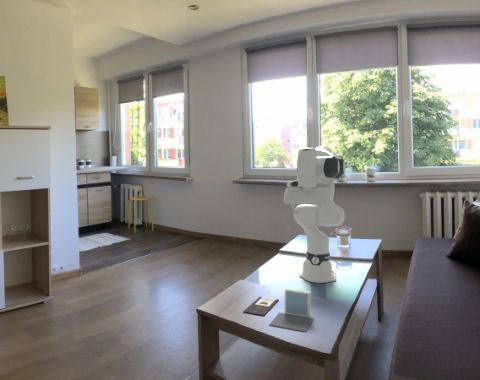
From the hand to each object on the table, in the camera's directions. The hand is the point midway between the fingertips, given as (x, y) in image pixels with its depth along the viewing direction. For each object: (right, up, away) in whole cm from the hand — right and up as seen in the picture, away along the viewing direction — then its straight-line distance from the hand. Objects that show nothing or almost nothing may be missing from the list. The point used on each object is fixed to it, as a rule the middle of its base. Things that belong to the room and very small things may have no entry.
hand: (306, 214), depth 169 cm
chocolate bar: (-20, -39, -7) cm, 45 cm away
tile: (-6, -39, -15) cm, 43 cm away
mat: (-9, -40, -23) cm, 47 cm away
